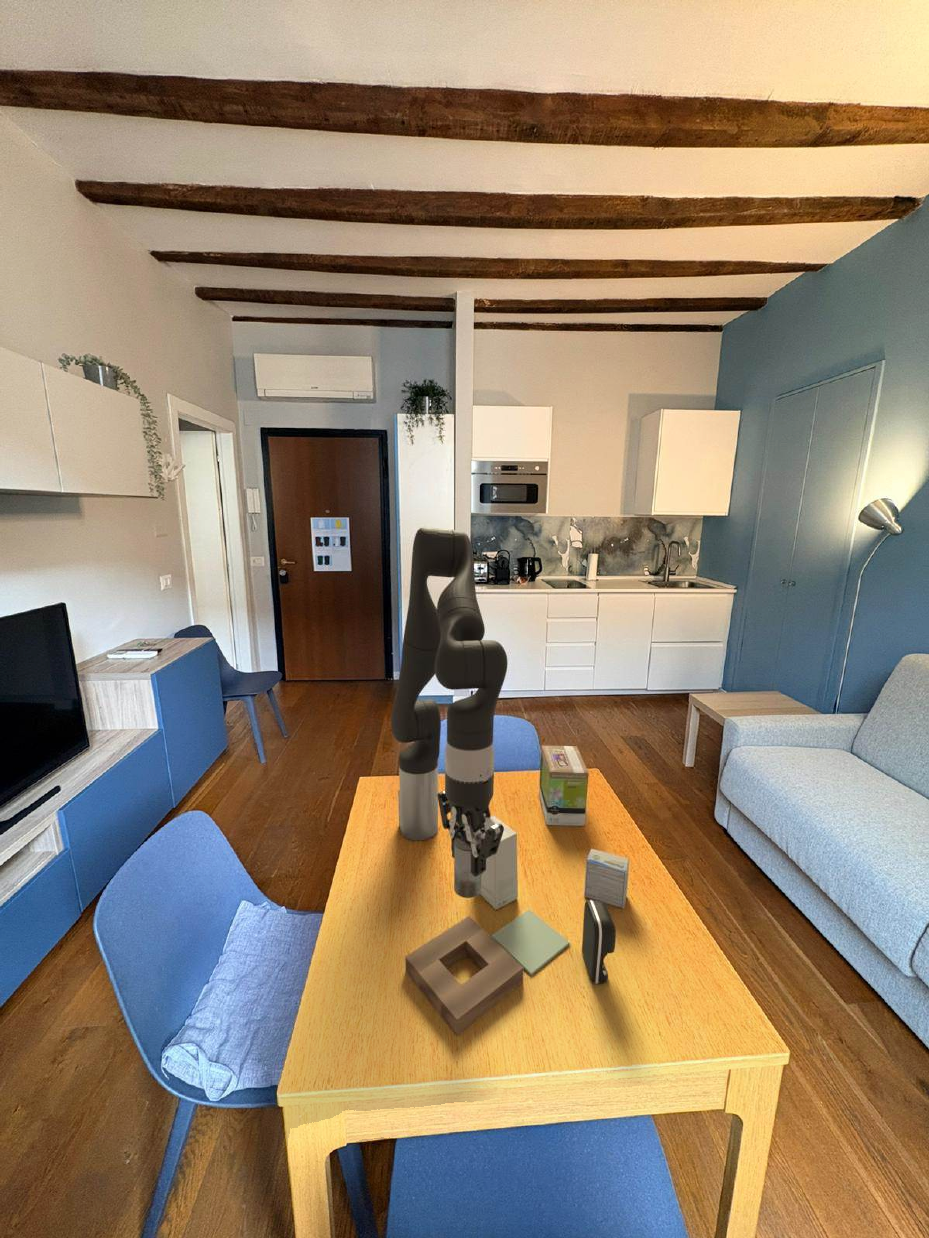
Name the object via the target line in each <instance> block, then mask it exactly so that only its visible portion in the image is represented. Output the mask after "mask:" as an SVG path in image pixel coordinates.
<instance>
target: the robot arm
mask: <svg viewBox="0 0 929 1238" xmlns="http://www.w3.org/2000/svg"><path fill="white" fill-rule="evenodd" d="M474 566H475V565H474V555H473V548H472V542H471V539H470V537H469V535H468V534H467V533H466V532H465V531H461V530H456V529H446V528H435V527H426V526H424V527H420V528H419V529H418V530H417V531H416V533H415V534H414V539H413V544H412V554H411V569H410V585H409V586H410V587H409V597H408V598H409V599H408V605H407V606H408V607H407V612H406V613H407V614H406V620H405V627H404V631H403V641H402V649H401V659H400V666H399V667H400V670H399V677H398V683H397V687H396V691H395V694H394V695H395V696H394V699H393V705H392V709H391V715H390V717H391V718H390V727H391V733H392V736H393V738H394V739H395V741H397V742H398V743H402V744H406V743H411V744H410V745H408V746H407V747H406V748H404V749H403V750H401V752H400V753H399V756H398V768H399V769H398V773H399V775H398V777H399V778H398V779H399V789H398V791H397V793H398V794H397V795H398V796H397V797H398V798H397V800H398V804H397V805H398V806H397V807H398V825H399V828H400V829H399V830H400V833H401V835H402V836H403V837H404V838H406V839H408V840H410V841H417V842H419V841H425V840H428V839H431V838H432V837H434V836H435V835H436V834H437V833H438V831H439V830H438V829H439V811H440V818H441V823H442V827H443V829H444V830H448V835H449V837H450V839H451V840H450V841H451V842H450V844H451V845H450V846H451V849H450V850H451V858H453V859H454V838H455V835H456V834H457V833H459V832H461V831H464V830H466V835H467V840H468V841H469V842H470V843H471V848H472V862H471V874H472V875H474V876H475V877H476V876H478V875H480V874H482V873H483V872H485V870H486V859H487V858H488V857H490V856H492V855H494V854H496V853H497V850H498V847H499V844H500V841H501V838H502V835H503V831H504V827H503V825H502V824H501V823H499V824H497V825H496V824H495V823H494V822H493V821H492V820H491V816H492V815H491V810H490V803H491V801H492V799H493V798H494V797H493V796H494V786H495V785H494V782H495V748H494V747H495V746H494V720H495V712H496V707H497V704H498V700H499V698H500V694H501V691H502V688H503V685H504V681H505V680H506V675H507V671H508V663H509V662H508V655H507V652H506V649H504V647H503V646H502V644H501V643H500V642H499V641H497V640H493V639H492V640H491V639H485V640H484V639H483V638H484V636H485V633H486V631H485V629H486V628H485V623H484V620H483V616H482V613H481V609H480V607H479V604H478V603H479V602H478V598H477V592H476V590H477V589H476V578H475V567H474ZM429 577H441V578H453V579H452V580H451V581H450V582H449V583H448V584H447V586H446V587H445V588H444V589H443V590H442V592H441V593H440V596H439V598H438V601H437V603H436V604H437V605H435V603H434V601H433V598H432V596H431V593H430V590H429V588H428V578H429ZM434 676H435V678H436V680H437V681H438V683H439V684H440V685H441V686H442V687H444V688H446V689H447V690H451V691H452V690H458V691H459V690H470V689H471V690H472V689H473V690H474V689H477V690H476V691H475V693H473V694H472V695H470V696H467V697H464V698H461V699H458V700H456V701H453V702H452V703H450V704H449V706H448V707H447V710H446V711H447V712H446V746H445V753H444V790H443V791H441V792H439V757H440V751H441V748H440V747H441V732H442V730H441V729H442V720H441V719H442V717H441V712H440V711H441V710H440V707H439V705H438V704H437V703H438V702H436V700H434V699H433V698H430V697H426V698H421V699H419V698H418V697H419V696H420V694H421V693H422V691H423V690H424V688H425V687H426V686H427V685H428V684H429V682H430V681H431V680H432V679H433V677H434ZM449 813H450V818H449V819H448V815H449ZM479 830H480V831H479ZM477 831H479V832H477ZM474 832H477V833H475V834H473V833H474ZM479 840H481V845H480V846H479V847H478V841H479Z"/></svg>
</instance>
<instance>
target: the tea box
mask: <svg viewBox="0 0 929 1238" xmlns="http://www.w3.org/2000/svg"><path fill="white" fill-rule="evenodd" d="M588 785H589V770H588V768H587V766H586V764H585V761H584V760H583V757H582V755H581V753H580V750H579V748H578V746H575V745H574V746H573V745H541V751H540V769H539V785H538V787H539V788H538V794H539V798H540V802H541V807H542V811H543V815H544V816H543V817H544V820H545V823H546V825H547V826H565V827H566V826H569V827H570V826H571V827H573V826H575V827H578V826H580V827H584V826H585V824H586V812H587V811H586V810H587V799H588V787H589V786H588Z"/></svg>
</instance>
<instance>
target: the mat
mask: <svg viewBox="0 0 929 1238" xmlns="http://www.w3.org/2000/svg"><path fill="white" fill-rule="evenodd" d="M490 936H491V937H492V938H493V939H494V940H495V941H496V942H497V943H498V944H499V945H500V946H501V947H502V948H504V949H505V950H506V951H507V952H508V953H509V954H510V955H511V956H512V957H513V958H514V959H515V960H516V961H517V962H518V963H519V964H520V965H521V966H522V967H523V970H524V971H525V972H527V974H529V975H530V976H533V975H534V974H535V973H536V972H538V971H539V970H540V969H541V968H543V967H544V966H545V965H546V964H547V963H549V962H550V961H551V960H552V959H554V958H555V957H556V956H558V955H559V954H560V953H561V952H562V951H564V950H565V949H566V948H567V947H568V946H570V943H571V942H570V941H569V940H568V939H566V938H565V937H564V936H563V935H561V934H560V933H559V932H558V931H557V930H555V929H554V928H553V927H551V926H550V925H549V924H548V923H546V922H545V921H544V920H543V919H542V918H540V917H539V916H538V915H537V914H536V913H535V912H533V911H532V910H531V909H529V908H528V909H527V910H525V912H523V913H521V914H520V915H518V916H517V917H516V918H514V919H513V920H512V921H510V922H509V923H506V925H504V926H503V927H501V928H500V929H498V930H497V931H496V932H494V933H493V934H490Z"/></svg>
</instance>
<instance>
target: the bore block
mask: <svg viewBox="0 0 929 1238" xmlns="http://www.w3.org/2000/svg"><path fill="white" fill-rule="evenodd" d="M404 957H405V958H404V959H405V960H404V961H405V962H404V963H405V973H406V974H407V975H408V976H409V978H411V980H412V981H413V983H414V984H415V985H416V986H417V988H418V989H419V991H421V993H422V994H423V996H424V997H425V998H426V999H427V1000H428V1002H429V1003H430V1004H431V1006H432V1007H433V1008H434V1009H435V1010H436V1012H437V1013H438V1015H440V1016H441V1019H442V1020H444V1022H445V1023H446V1025H448V1026H449V1028H450V1029H451V1031H453V1033H454V1035H456V1037H458V1036H459V1035H460V1034H461V1033H462V1032H464V1031H465V1030H466V1029H468V1028H469V1027H470V1026H471V1025H473V1024H474V1023H475V1022H477V1021H478V1019H480V1018H481V1017H482V1016H484V1015H485V1014H486V1013H487V1012H488V1011H489V1010H491V1009H492V1008H493V1007H494V1006H496V1005H498V1003H499V1002H501V1001H502V1000H503V999H504V998H505V997H507V996H509V995H510V994H511V993H512V992H513V991H514V990H515V989H517V988H518V987H519V986H521V985H522V984H523V983H524V968H523V967H522V966H521V965H520V964H519V963H518V962H517V961H516V960H515V959H514V958H513V957H512V956H511V955H510V954H509V953H508V952H507V951H506V950H505V949H504V948H502V947H501V946H500V945H499V944H498V943H497V942H496V941H495V940H494V939H493V938H492V937H491V934H489V933H488V932H487V931H486V930H485V929H484V928H482V927H481V926H480V924H478V923H477V922H476V920H474V919H473V918H472V917H471V916H470V915H468V916H466V917H465V918H463V919H462V920H460V921H458V922H457V923H456V924H454V925H452V926H451V927H449V928H448V929H446V930H444V931H443V932H441V933H439V934H438V935H437V936H434V938H432V939H431V940H429V941H427V942H425V943H424V944H423V945H421V946H420V947H418V948H416V949H415V950H413V951H412V952H410V953H409V954H407V955H405V956H404ZM464 957H466V958H468V959H469V960H470V961H471V962H472V963H473V964H474V965H475V966H476V967H477V969H478V970H479V971H478V972H477V973H475V974H474V975H472V976H471V977H470V978H468V979H467V980H466V981H464V982H463V983H460V982H459V981H458V979H457V978H456V977H454V975H453V974H452V973H451V972H450V971H449V968H451V966H453V965H454V964H456V963H457V962H459V961H460V960H461V959H463V958H464Z"/></svg>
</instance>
